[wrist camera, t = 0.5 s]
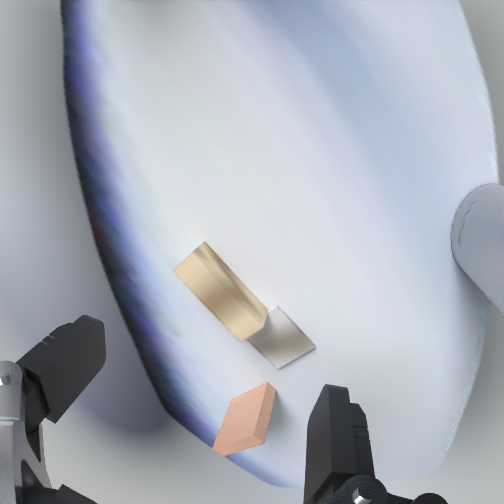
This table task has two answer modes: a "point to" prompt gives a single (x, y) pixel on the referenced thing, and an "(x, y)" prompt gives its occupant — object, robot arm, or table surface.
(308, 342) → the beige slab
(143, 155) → the table surface
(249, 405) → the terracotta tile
